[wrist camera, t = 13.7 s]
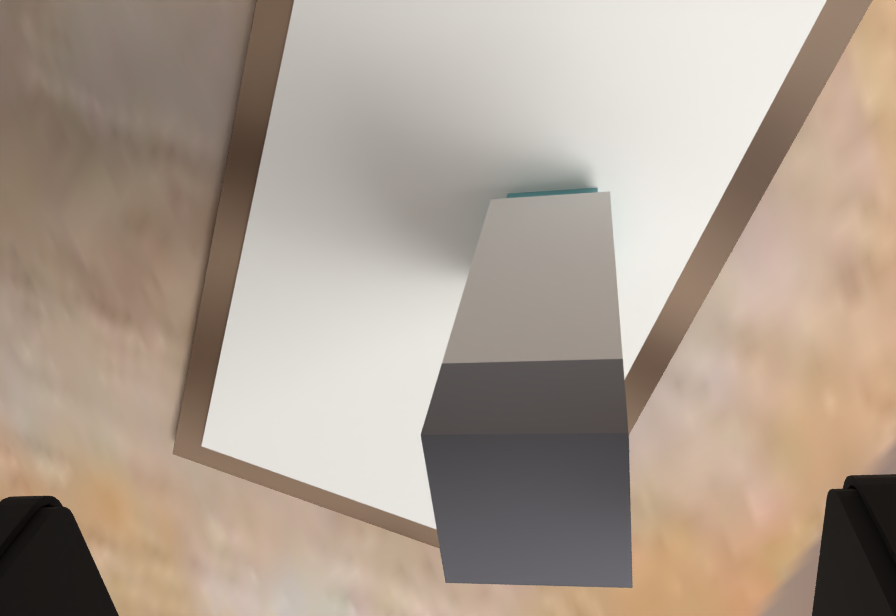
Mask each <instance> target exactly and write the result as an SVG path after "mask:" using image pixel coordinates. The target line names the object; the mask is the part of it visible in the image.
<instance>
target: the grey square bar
mask: <svg viewBox="0 0 896 616" xmlns="http://www.w3.org/2000/svg"><path fill="white" fill-rule="evenodd" d="M421 441H422V446H423V452H424V458H425V464H426V470H427V476H428V482H429V488H430V493H431V499H432V505H433V511H434V517H435V523H436V529H437V535H438V541H439V546H440V552H441V558H442V564H443V570H444V576H445V582H446V583H472V584H509V585H545V586H582V587H619V588H632V551H631V512H630V472H629V433H628V420H627V407H626V394H625V381H624V368H623V355H622V342H621V328H620V315H619V302H618V289H617V276H616V263H615V250H614V237H613V224H612V211H611V198H610V191H609V192H598V188H584V189H569V190H554V191H539V192H524V193H509V194H507V198H502V199H491V200H490V204H489V207H488V210H487V214H486V217H485V221H484V224H483V227H482V231H481V234H480V237H479V241H478V244H477V247H476V251H475V254H474V257H473V261H472V264H471V267H470V271H469V274H468V277H467V281H466V284H465V288H464V291H463V294H462V298H461V301H460V304H459V308H458V311H457V314H456V318H455V321H454V324H453V328H452V331H451V334H450V338H449V341H448V344H447V348H446V351H445V355H444V358H443V361H442V365H441V368H440V371H439V375H438V378H437V381H436V385H435V388H434V391H433V395H432V398H431V401H430V405H429V408H428V411H427V415H426V418H425V422H424V425H423V428H422V432H421Z"/></svg>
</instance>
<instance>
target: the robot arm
mask: <svg viewBox="0 0 896 616" xmlns="http://www.w3.org/2000/svg"><path fill="white" fill-rule="evenodd" d="M0 616H119V615H118V613H117V611H116V609H115V606H114V604H113V602H112V600H111V598H110V595H109V593H108V591H107V589H106V586H105V584H104V582H103V580H102V578H101V575H100V573H99V571H98V569H97V567H96V564H95V562H94V560H93V558H92V556H91V553H90V551H89V549H88V547H87V544H86V542H85V540H84V538H83V536H82V533H81V531H80V529H79V527H78V525H77V522H76V520H75V518H74V516H73V514H72V512H71V511H70V510H69V509H68V508H66V507H63V506H62V504H61V503H60V501H59V500H58V499H56V498H55V497H53V496H20V497H8V498H5V499H3V500H2V501H1V502H0ZM812 616H896V474H891V475H851V476H847V478H846V480H845V482H844V486H843V489H831V490H829V492H828V495H827V500H826V508H825V516H824V524H823V532H822V540H821V548H820V556H819V564H818V573H817V580H816V588H815V596H814V605H813V612H812Z"/></svg>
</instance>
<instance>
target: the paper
mask: <svg viewBox="0 0 896 616" xmlns="http://www.w3.org/2000/svg"><path fill="white" fill-rule="evenodd" d="M826 1H827V0H294V4H293V9H292V13H291V18H290V23H289V28H288V33H287V37H286V42H285V47H284V52H283V57H282V61H281V66H280V71H279V76H278V81H277V85H276V90H275V95H274V100H273V105H272V109H271V114H270V119H269V124H268V129H267V133H266V138H265V143H264V148H263V153H262V157H261V162H260V167H259V172H258V177H257V181H256V186H255V191H254V196H253V201H252V205H251V210H250V215H249V220H248V224H247V229H246V234H245V239H244V244H243V248H242V253H241V258H240V263H239V268H238V272H237V277H236V282H235V287H234V292H233V296H232V301H231V306H230V311H229V316H228V320H227V325H226V330H225V335H224V340H223V344H222V349H221V354H220V359H219V364H218V368H217V373H216V378H215V383H214V388H213V392H212V397H211V402H210V407H209V412H208V416H207V421H206V426H205V431H204V436H203V440H202V445H201V446H202V447H205V448H208V449H211V450H214V451H216V452H219V453H222V454H225V455H228V456H231V457H233V458H236V459H239V460H242V461H245V462H247V463H250V464H253V465H256V466H259V467H262V468H264V469H267V470H270V471H273V472H276V473H279V474H281V475H284V476H287V477H290V478H293V479H295V480H298V481H301V482H304V483H307V484H310V485H312V486H315V487H318V488H321V489H324V490H326V491H329V492H332V493H335V494H338V495H341V496H343V497H346V498H349V499H352V500H355V501H358V502H360V503H363V504H366V505H369V506H372V507H374V508H377V509H380V510H383V511H386V512H389V513H391V514H394V515H397V516H400V517H403V518H406V519H408V520H411V521H414V522H417V523H420V524H422V525H425V526H428V527H431V528H434V529H436V523H435V517H434V511H433V505H432V499H431V493H430V488H429V482H428V476H427V470H426V464H425V458H424V452H423V446H422V441H421V432H422V428H423V425H424V422H425V418H426V415H427V411H428V408H429V405H430V401H431V398H432V395H433V391H434V388H435V385H436V381H437V378H438V375H439V371H440V368H441V365H442V361H443V358H444V355H445V351H446V348H447V344H448V341H449V338H450V334H451V331H452V328H453V324H454V321H455V318H456V314H457V311H458V308H459V304H460V301H461V298H462V294H463V291H464V288H465V284H466V281H467V277H468V274H469V271H470V267H471V264H472V261H473V257H474V254H475V251H476V247H477V244H478V241H479V237H480V234H481V231H482V227H483V224H484V221H485V217H486V214H487V210H488V207H489V204H490V200H491V199H502V198H507V194H509V193H524V192H539V191H554V190H569V189H584V188H598V192H609V191H610V198H611V211H612V224H613V237H614V250H615V263H616V276H617V289H618V302H619V315H620V328H621V342H622V355H623V368H624V380H625V378H626V376H627V374H628V372H629V370H630V368H631V367H632V365H633V363H634V361H635V359H636V357H637V355H638V353H639V352H640V350H641V348H642V346H643V344H644V342H645V340H646V338H647V337H648V335H649V333H650V331H651V329H652V327H653V325H654V323H655V322H656V320H657V318H658V316H659V314H660V312H661V310H662V308H663V307H664V305H665V303H666V301H667V299H668V297H669V295H670V293H671V292H672V290H673V288H674V286H675V284H676V282H677V280H678V278H679V277H680V275H681V273H682V271H683V269H684V267H685V265H686V263H687V262H688V260H689V258H690V256H691V254H692V252H693V250H694V248H695V247H696V245H697V243H698V241H699V239H700V237H701V235H702V233H703V231H704V230H705V228H706V226H707V224H708V222H709V220H710V218H711V216H712V215H713V213H714V211H715V209H716V207H717V205H718V203H719V201H720V200H721V198H722V196H723V194H724V192H725V190H726V188H727V186H728V185H729V183H730V181H731V179H732V177H733V175H734V173H735V171H736V170H737V168H738V166H739V164H740V162H741V160H742V158H743V156H744V155H745V153H746V151H747V149H748V147H749V145H750V143H751V141H752V140H753V138H754V136H755V134H756V132H757V130H758V128H759V126H760V125H761V123H762V121H763V119H764V117H765V115H766V113H767V111H768V110H769V108H770V106H771V104H772V102H773V100H774V98H775V96H776V95H777V93H778V91H779V89H780V87H781V85H782V83H783V81H784V79H785V78H786V76H787V74H788V72H789V70H790V68H791V66H792V64H793V63H794V61H795V59H796V57H797V55H798V53H799V51H800V49H801V48H802V46H803V44H804V42H805V40H806V38H807V36H808V34H809V33H810V31H811V29H812V27H813V25H814V23H815V21H816V19H817V18H818V16H819V14H820V12H821V10H822V8H823V6H824V4H825V3H826Z"/></svg>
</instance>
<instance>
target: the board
mask: <svg viewBox="0 0 896 616" xmlns="http://www.w3.org/2000/svg"><path fill="white" fill-rule="evenodd" d="M871 2H872V0H827V1H826V3H825V4H824V6H823V8H822V10H821V12H820V14H819V16H818V18H817V19H816V21H815V23H814V25H813V27H812V29H811V31H810V33H809V34H808V36H807V38H806V40H805V42H804V44H803V46H802V48H801V49H800V51H799V53H798V55H797V57H796V59H795V61H794V63H793V64H792V66H791V68H790V70H789V72H788V74H787V76H786V78H785V79H784V81H783V83H782V85H781V87H780V89H779V91H778V93H777V95H776V96H775V98H774V100H773V102H772V104H771V106H770V108H769V110H768V111H767V113H766V115H765V117H764V119H763V121H762V123H761V125H760V126H759V128H758V130H757V132H756V134H755V136H754V138H753V140H752V141H751V143H750V145H749V147H748V149H747V151H746V153H745V155H744V156H743V158H742V160H741V162H740V164H739V166H738V168H737V170H736V171H735V173H734V175H733V177H732V179H731V181H730V183H729V185H728V186H727V188H726V190H725V192H724V194H723V196H722V198H721V200H720V201H719V203H718V205H717V207H716V209H715V211H714V213H713V215H712V216H711V218H710V220H709V222H708V224H707V226H706V228H705V230H704V231H703V233H702V235H701V237H700V239H699V241H698V243H697V245H696V247H695V248H694V250H693V252H692V254H691V256H690V258H689V260H688V262H687V263H686V265H685V267H684V269H683V271H682V273H681V275H680V277H679V278H678V280H677V282H676V284H675V286H674V288H673V290H672V292H671V293H670V295H669V297H668V299H667V301H666V303H665V305H664V307H663V308H662V310H661V312H660V314H659V316H658V318H657V320H656V322H655V323H654V325H653V327H652V329H651V331H650V333H649V335H648V337H647V338H646V340H645V342H644V344H643V346H642V348H641V350H640V352H639V353H638V355H637V357H636V359H635V361H634V363H633V365H632V367H631V368H630V370H629V372H628V374H627V376H626V378H625V380H624V381H625V394H626V407H627V420H628V433H629V434H630V432H631V430H632V428H633V426H634V425H635V423H636V421H637V419H638V417H639V416H640V414H641V412H642V410H643V409H644V407H645V405H646V403H647V401H648V400H649V398H650V396H651V394H652V393H653V391H654V389H655V387H656V385H657V384H658V382H659V380H660V378H661V376H662V375H663V373H664V371H665V369H666V368H667V366H668V364H669V362H670V360H671V359H672V357H673V355H674V353H675V351H676V350H677V348H678V346H679V344H680V343H681V341H682V339H683V337H684V335H685V334H686V332H687V330H688V328H689V327H690V325H691V323H692V321H693V319H694V318H695V316H696V314H697V312H698V310H699V309H700V307H701V305H702V303H703V302H704V300H705V298H706V296H707V294H708V293H709V291H710V289H711V287H712V286H713V284H714V282H715V280H716V278H717V277H718V275H719V273H720V271H721V269H722V268H723V266H724V264H725V262H726V261H727V259H728V257H729V255H730V253H731V252H732V250H733V248H734V246H735V245H736V243H737V241H738V239H739V237H740V236H741V234H742V232H743V230H744V228H745V227H746V225H747V223H748V221H749V220H750V218H751V216H752V214H753V212H754V211H755V209H756V207H757V205H758V203H759V202H760V200H761V198H762V196H763V195H764V193H765V191H766V189H767V187H768V186H769V184H770V182H771V180H772V179H773V177H774V175H775V173H776V171H777V170H778V168H779V166H780V164H781V162H782V161H783V159H784V157H785V155H786V154H787V152H788V150H789V148H790V146H791V145H792V143H793V141H794V139H795V138H796V136H797V134H798V132H799V130H800V129H801V127H802V125H803V123H804V121H805V120H806V118H807V116H808V114H809V113H810V111H811V109H812V107H813V105H814V104H815V102H816V100H817V98H818V96H819V95H820V93H821V91H822V89H823V88H824V86H825V84H826V82H827V80H828V79H829V77H830V75H831V73H832V72H833V70H834V68H835V66H836V64H837V63H838V61H839V59H840V57H841V55H842V54H843V52H844V50H845V48H846V47H847V45H848V43H849V41H850V39H851V38H852V36H853V34H854V32H855V31H856V29H857V27H858V25H859V23H860V22H861V20H862V18H863V16H864V14H865V13H866V11H867V9H868V7H869V6H870V4H871ZM293 4H294V0H257V2H256V7H255V12H254V18H253V23H252V29H251V34H250V39H249V45H248V50H247V56H246V61H245V66H244V72H243V77H242V83H241V88H240V93H239V99H238V104H237V109H236V115H235V120H234V126H233V131H232V136H231V142H230V147H229V153H228V158H227V163H226V169H225V174H224V180H223V185H222V190H221V196H220V201H219V206H218V212H217V217H216V223H215V228H214V233H213V239H212V244H211V250H210V255H209V260H208V266H207V271H206V277H205V282H204V287H203V293H202V298H201V303H200V309H199V314H198V320H197V325H196V330H195V336H194V341H193V347H192V352H191V357H190V363H189V368H188V373H187V379H186V384H185V390H184V395H183V400H182V406H181V411H180V417H179V422H178V427H177V433H176V438H175V444H174V449H173V454H174V455H177V456H180V457H183V458H186V459H188V460H191V461H194V462H197V463H200V464H203V465H205V466H208V467H211V468H214V469H217V470H220V471H222V472H225V473H228V474H231V475H234V476H236V477H239V478H242V479H245V480H248V481H251V482H253V483H256V484H259V485H262V486H265V487H268V488H270V489H273V490H276V491H279V492H282V493H285V494H287V495H290V496H293V497H296V498H299V499H301V500H304V501H307V502H310V503H313V504H316V505H318V506H321V507H324V508H327V509H330V510H333V511H335V512H338V513H341V514H344V515H347V516H350V517H352V518H355V519H358V520H361V521H364V522H366V523H369V524H372V525H375V526H378V527H381V528H383V529H386V530H389V531H392V532H395V533H398V534H400V535H403V536H406V537H409V538H412V539H415V540H417V541H420V542H423V543H426V544H429V545H431V546H434V547H437V548H440V546H439V541H438V535H437V529H434V528H431V527H428V526H425V525H422V524H420V523H417V522H414V521H411V520H408V519H406V518H403V517H400V516H397V515H394V514H391V513H389V512H386V511H383V510H380V509H377V508H374V507H372V506H369V505H366V504H363V503H360V502H358V501H355V500H352V499H349V498H346V497H343V496H341V495H338V494H335V493H332V492H329V491H326V490H324V489H321V488H318V487H315V486H312V485H310V484H307V483H304V482H301V481H298V480H295V479H293V478H290V477H287V476H284V475H281V474H279V473H276V472H273V471H270V470H267V469H264V468H262V467H259V466H256V465H253V464H250V463H247V462H245V461H242V460H239V459H236V458H233V457H231V456H228V455H225V454H222V453H219V452H216V451H214V450H211V449H208V448H205V447H202V446H201V445H202V440H203V436H204V431H205V426H206V421H207V416H208V412H209V407H210V402H211V397H212V392H213V388H214V383H215V378H216V373H217V368H218V364H219V359H220V354H221V349H222V344H223V340H224V335H225V330H226V325H227V320H228V316H229V311H230V306H231V301H232V296H233V292H234V287H235V282H236V277H237V272H238V268H239V263H240V258H241V253H242V248H243V244H244V239H245V234H246V229H247V224H248V220H249V215H250V210H251V205H252V201H253V196H254V191H255V186H256V181H257V177H258V172H259V167H260V162H261V157H262V153H263V148H264V143H265V138H266V133H267V129H268V124H269V119H270V114H271V109H272V105H273V100H274V95H275V90H276V85H277V81H278V76H279V71H280V66H281V61H282V57H283V52H284V47H285V42H286V37H287V33H288V28H289V23H290V18H291V13H292V9H293Z"/></svg>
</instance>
